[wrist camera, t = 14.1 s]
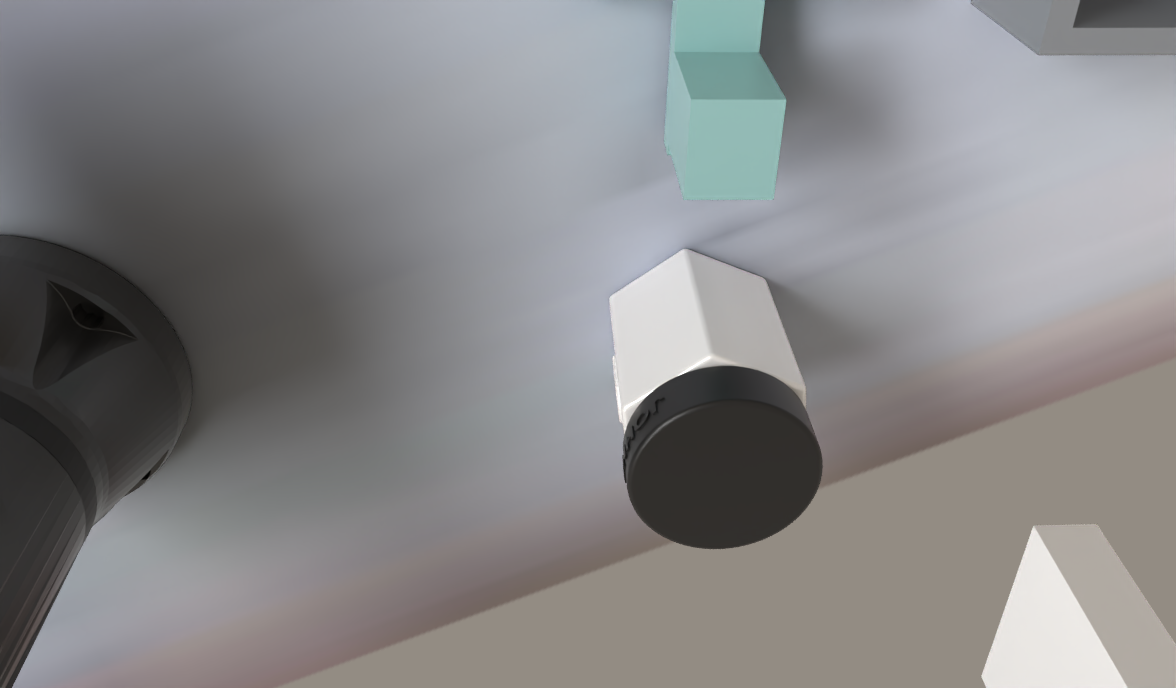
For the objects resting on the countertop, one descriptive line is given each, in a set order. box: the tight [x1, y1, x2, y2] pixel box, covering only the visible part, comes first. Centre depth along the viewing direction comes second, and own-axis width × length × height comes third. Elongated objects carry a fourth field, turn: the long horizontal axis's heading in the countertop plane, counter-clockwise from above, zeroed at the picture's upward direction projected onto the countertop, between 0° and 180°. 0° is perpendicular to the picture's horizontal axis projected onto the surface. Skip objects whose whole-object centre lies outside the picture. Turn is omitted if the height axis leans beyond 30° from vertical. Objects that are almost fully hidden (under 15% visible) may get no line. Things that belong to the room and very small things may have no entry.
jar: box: [609, 249, 823, 549], centre depth 46 cm, size 9×8×12 cm
